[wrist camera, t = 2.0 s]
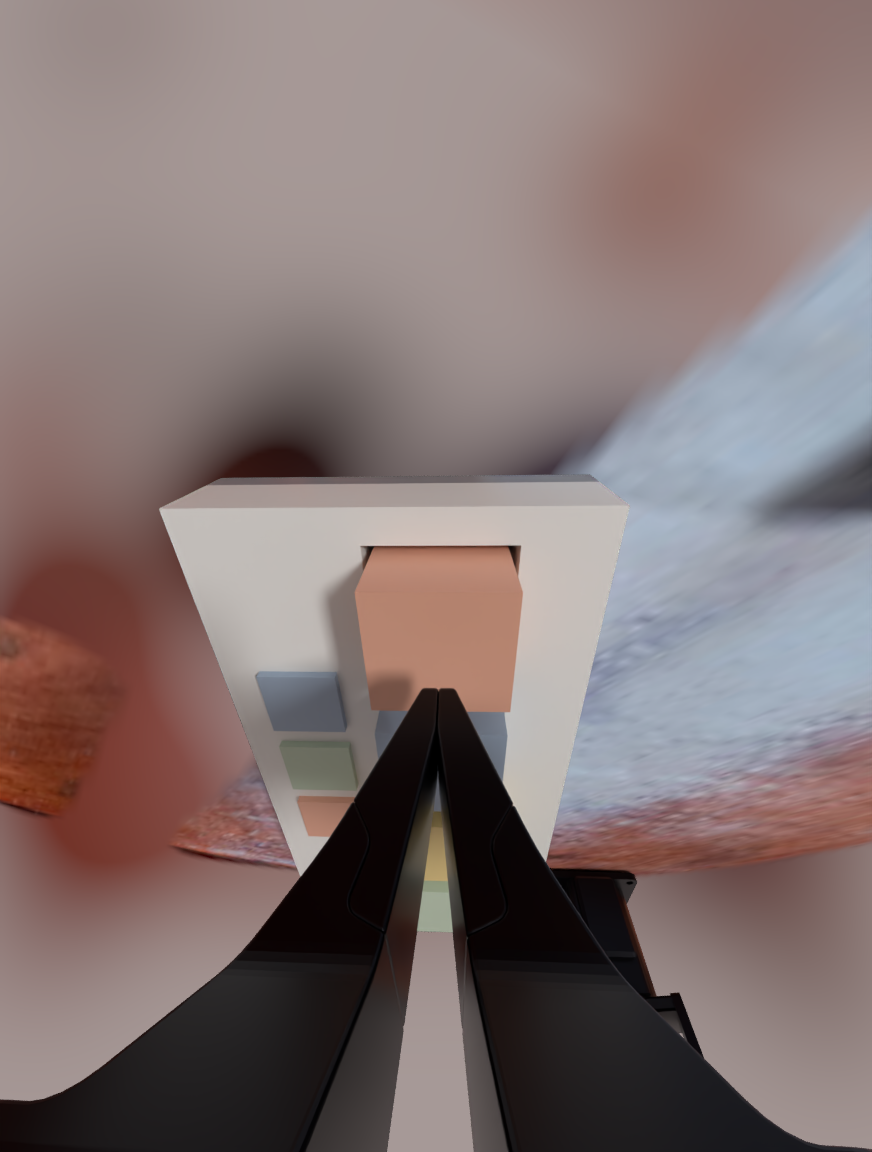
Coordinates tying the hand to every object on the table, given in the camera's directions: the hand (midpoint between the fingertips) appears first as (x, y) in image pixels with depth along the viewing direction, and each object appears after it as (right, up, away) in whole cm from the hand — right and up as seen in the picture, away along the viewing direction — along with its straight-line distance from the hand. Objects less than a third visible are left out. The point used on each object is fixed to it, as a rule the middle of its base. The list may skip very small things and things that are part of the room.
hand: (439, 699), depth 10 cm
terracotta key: (0, +2, +4) cm, 5 cm away
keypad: (-1, -4, +11) cm, 11 cm away
